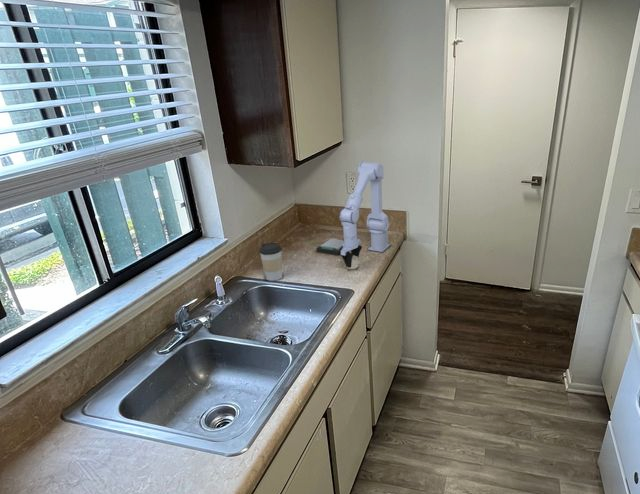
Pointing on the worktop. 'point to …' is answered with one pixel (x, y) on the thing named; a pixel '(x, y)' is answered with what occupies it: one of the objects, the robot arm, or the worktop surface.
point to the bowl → (354, 262)
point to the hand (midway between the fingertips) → (352, 264)
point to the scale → (331, 246)
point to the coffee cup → (271, 260)
